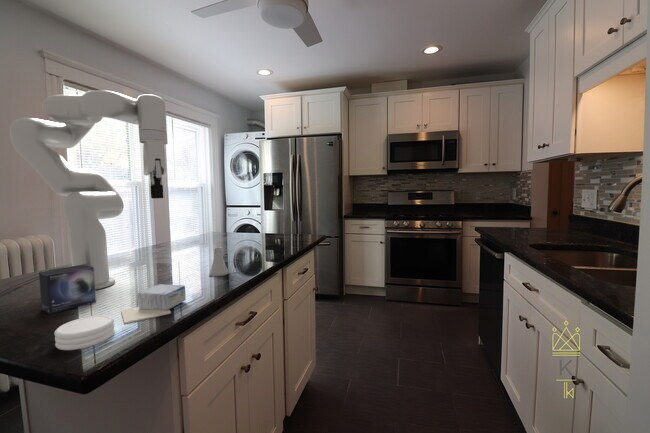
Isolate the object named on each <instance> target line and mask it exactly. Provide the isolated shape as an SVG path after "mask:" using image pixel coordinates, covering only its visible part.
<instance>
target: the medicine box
mask: <svg viewBox="0 0 650 433" xmlns="http://www.w3.org/2000/svg"><path fill="white" fill-rule="evenodd" d="M186 299H187V298H186V286H185V285H184V284H167V283H166V284H162V283H158V284H157V285H154V286H151V287H149V288H147V289H145V290H142V291H139V292H138V293H137V301H138V303H137V304H138V307H139V309H151V310H170V309H172V308H174V307H175V306H177V305H180V304H181V303H184V302H185V301H186Z"/></svg>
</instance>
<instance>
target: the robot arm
mask: <svg viewBox="0 0 650 433" xmlns="http://www.w3.org/2000/svg"><path fill="white" fill-rule="evenodd" d="M41 106H42V110H43V111H44V113H45V115H46V116H47V117H48V118H50V119H52V120H54V121H50V120H47V119H46V120H44V119H40V118H34V117H21V118H17V119H15V120H14V121H12V123H11V124H10V127H9V138H10V141H11V144H12V146H13V148H14V150H15V151H16V152H17V153H18V155H20V157H21V158H22V159H23V160H25V161H26V162H27V163H28V164H29V165H30V166H31V167H32V168H33V169H34V170H35V171H36V173H37V174H38V175H39V176H40V178H41V179H42V180H43V181H44V182H45V183H46V185H47V186H48V187H49V188H50V189H51V190H52V191H53V192H54V193H55V194H56V195H58V196H61V197H65V198H63V201H62V210H63V213H64V214H63V215H64V217H65V220H66V222H67V227H68V233H69V234H68V235H69V243H70V244H69V245H70V255H71V256H70V257H71V266H77V265H83V264H85V265H88V266H91V267H94V282H95V291H96V290H99V289H103V288H108V287H110V286H113V285H114V284H115V283H116V279H115V278H113V277H110V270H109V268H110V267H109V257H108V243H107V234H106V230H105V228H104V226H103V224H102V223H101V222H100V220H103V219H111V218H116V217H118V216H119V215H122V213H123V211H124V200H123V198H122V197H121V196H120V194H119V192H117V190H116V189H115V188H114V187H113V186H112V185H111V183H110V182H109V181H108V180H107V179H106V178H105V177H104V176H103V175H102V174H101V173H100V172H98V171H96V170H94V169H88V168H80V167H79V168H77V167H74V166H72V165H71V164H70V163H68V161H67V160H66V159H65V158H64V157H63V156H62V155H61V154H60V153H58V152H57V151H55V150H54V149H52V148H57V149H71V148H74V147H75V146H76V145H78V144H80V141H81V140H82V139H84V138H85V136H86V135H87V134H88V133H89V132H90V131H91V130H92V129H93V127H94V126H95V124H97V123H99V122H101V121H102V119H103V118H109V119H113V120H117V121H121V122H126V123H129V124H132V125H138V136H139V138H138V139H139V143H140V144H143V145H142V148H143V149H142V159H143V175H144V176H149V180H150V181H149V182H150V185H149V187H150V188H149V189H150V197H151V198H150V199H164V185H163V176H164V175H165V174H166V170H167V168H166V167H167V166H166V164H167V163H166V153H165V150H166V149H165V145H168V129H167V128H168V126H167V112H166V101H165V100H164V99H163V98H162V97H160V96H158V95H155V94H139V96H138V97H137V98H133V97H131V96H128V95H125V94H122V93H120V92H116V91H112V90H88V91H85V92H84V93H83V94H51V95H49V96H47V97H46V98H44V100H43V101H42V105H41ZM55 121H56V122H55Z"/></svg>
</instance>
